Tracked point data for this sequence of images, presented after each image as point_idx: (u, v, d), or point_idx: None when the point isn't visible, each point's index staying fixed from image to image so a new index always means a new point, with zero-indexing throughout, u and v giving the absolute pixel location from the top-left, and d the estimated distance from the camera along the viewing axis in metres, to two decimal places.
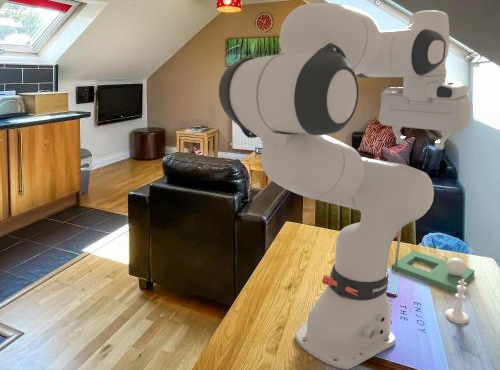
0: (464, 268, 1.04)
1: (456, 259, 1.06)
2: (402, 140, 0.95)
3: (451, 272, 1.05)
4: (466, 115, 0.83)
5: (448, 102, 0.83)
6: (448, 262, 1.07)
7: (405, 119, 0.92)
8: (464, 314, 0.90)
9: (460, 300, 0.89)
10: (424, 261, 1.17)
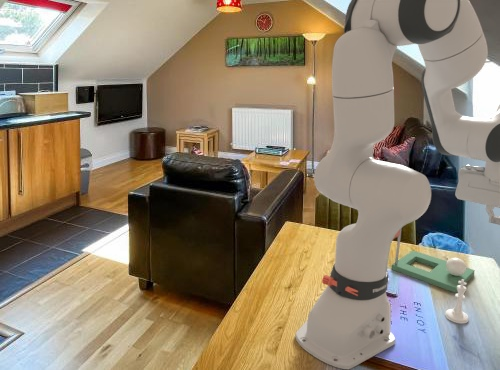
0: (464, 268, 1.04)
1: (456, 259, 1.06)
2: (495, 220, 0.97)
3: (451, 272, 1.05)
4: None
5: None
6: (448, 262, 1.07)
7: (484, 197, 0.96)
8: (464, 314, 0.90)
9: (460, 300, 0.89)
10: (424, 261, 1.17)
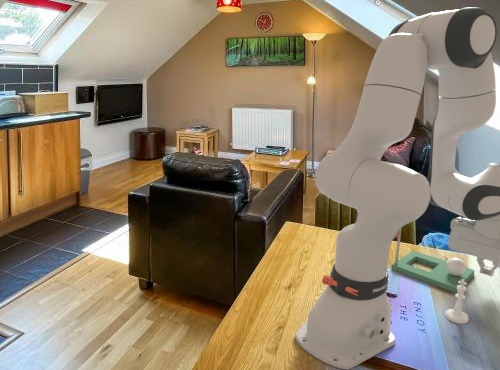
0: (464, 268, 1.04)
1: (456, 259, 1.06)
2: None
3: (451, 272, 1.05)
4: None
5: None
6: (448, 262, 1.07)
7: (475, 250, 1.01)
8: (464, 314, 0.90)
9: (460, 300, 0.89)
10: (424, 261, 1.17)
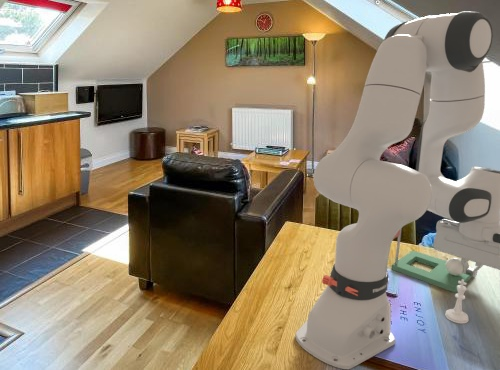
0: None
1: (455, 259, 1.06)
2: None
3: (451, 272, 1.06)
4: None
5: None
6: (447, 262, 1.07)
7: (459, 251, 1.03)
8: (464, 314, 0.90)
9: (460, 300, 0.89)
10: (424, 261, 1.17)
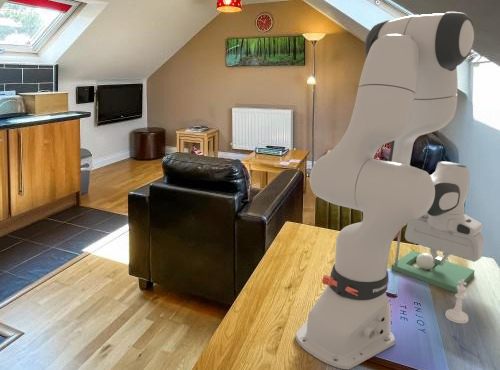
0: None
1: None
2: None
3: (421, 261, 1.11)
4: (480, 248, 1.01)
5: (466, 237, 1.00)
6: (430, 266, 1.11)
7: (428, 241, 1.09)
8: (464, 314, 0.90)
9: (460, 300, 0.89)
10: None
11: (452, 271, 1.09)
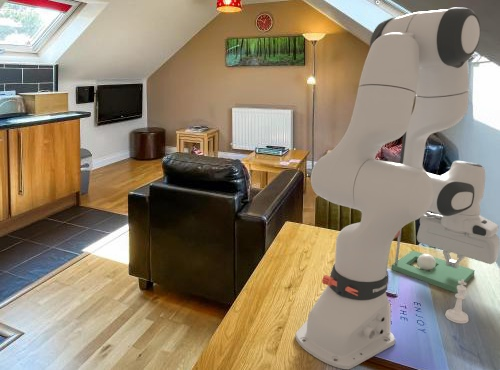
0: None
1: None
2: None
3: (423, 264, 1.10)
4: (497, 251, 0.98)
5: (482, 239, 0.97)
6: (431, 269, 1.10)
7: (441, 243, 1.06)
8: (464, 314, 0.90)
9: (460, 300, 0.89)
10: None
11: (452, 271, 1.09)
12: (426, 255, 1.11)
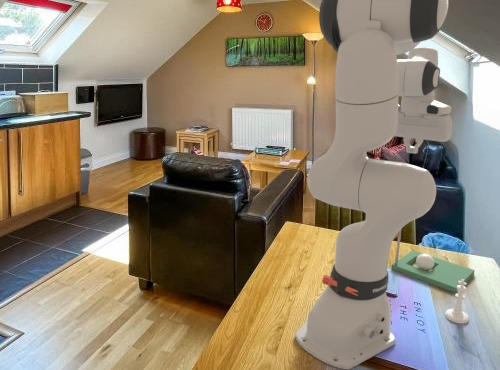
0: None
1: None
2: None
3: (421, 265, 1.11)
4: (449, 128, 1.06)
5: (435, 117, 1.06)
6: (430, 268, 1.10)
7: (401, 130, 1.15)
8: (464, 314, 0.90)
9: (460, 300, 0.89)
10: None
11: (452, 271, 1.09)
12: (423, 255, 1.11)
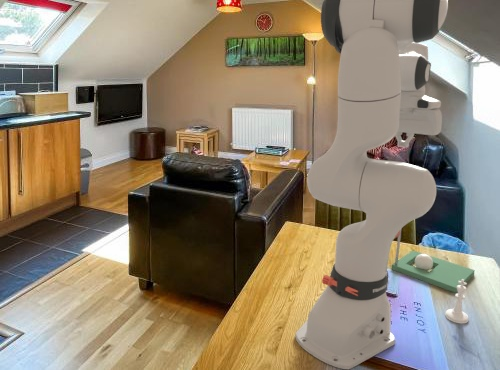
0: None
1: None
2: None
3: (420, 265, 1.11)
4: (439, 122, 1.09)
5: (425, 112, 1.09)
6: (430, 268, 1.10)
7: None
8: (464, 314, 0.90)
9: (460, 300, 0.89)
10: None
11: (452, 271, 1.09)
12: (421, 255, 1.11)
